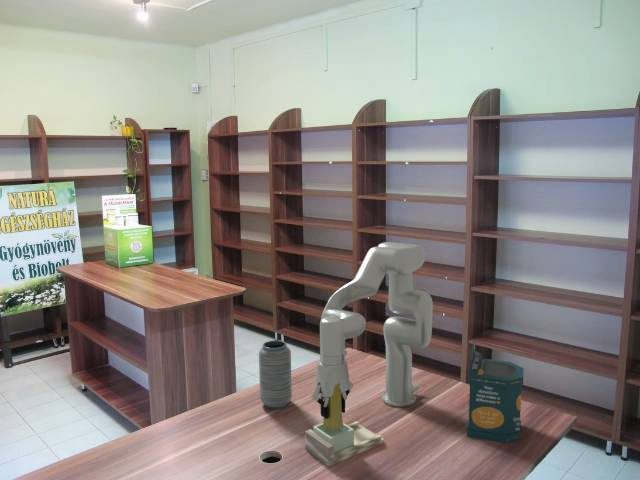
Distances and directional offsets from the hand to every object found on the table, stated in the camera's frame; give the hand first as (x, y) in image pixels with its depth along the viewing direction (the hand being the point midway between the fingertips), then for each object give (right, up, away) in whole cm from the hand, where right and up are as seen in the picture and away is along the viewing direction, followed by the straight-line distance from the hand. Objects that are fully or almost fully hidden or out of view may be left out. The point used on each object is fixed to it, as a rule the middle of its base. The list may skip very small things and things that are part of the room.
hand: (333, 413), depth 165 cm
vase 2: (0, -4, +1) cm, 4 cm away
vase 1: (-20, -7, +34) cm, 40 cm away
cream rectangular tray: (+4, -12, +5) cm, 13 cm away
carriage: (0, -11, +2) cm, 11 cm away
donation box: (+54, -10, +14) cm, 57 cm away
